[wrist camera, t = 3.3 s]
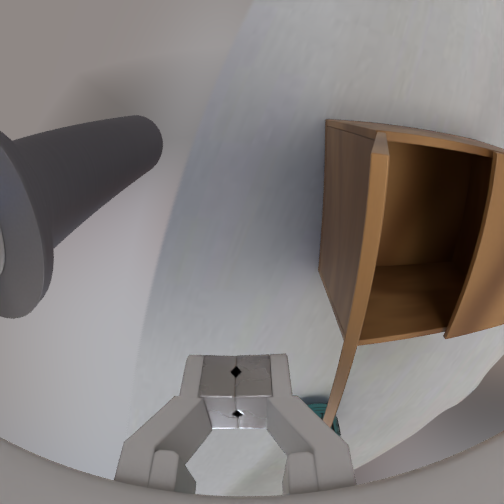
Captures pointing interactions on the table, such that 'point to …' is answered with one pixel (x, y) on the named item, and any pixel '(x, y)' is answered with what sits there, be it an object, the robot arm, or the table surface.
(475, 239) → the carton
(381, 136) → the flap
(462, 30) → the table surface
